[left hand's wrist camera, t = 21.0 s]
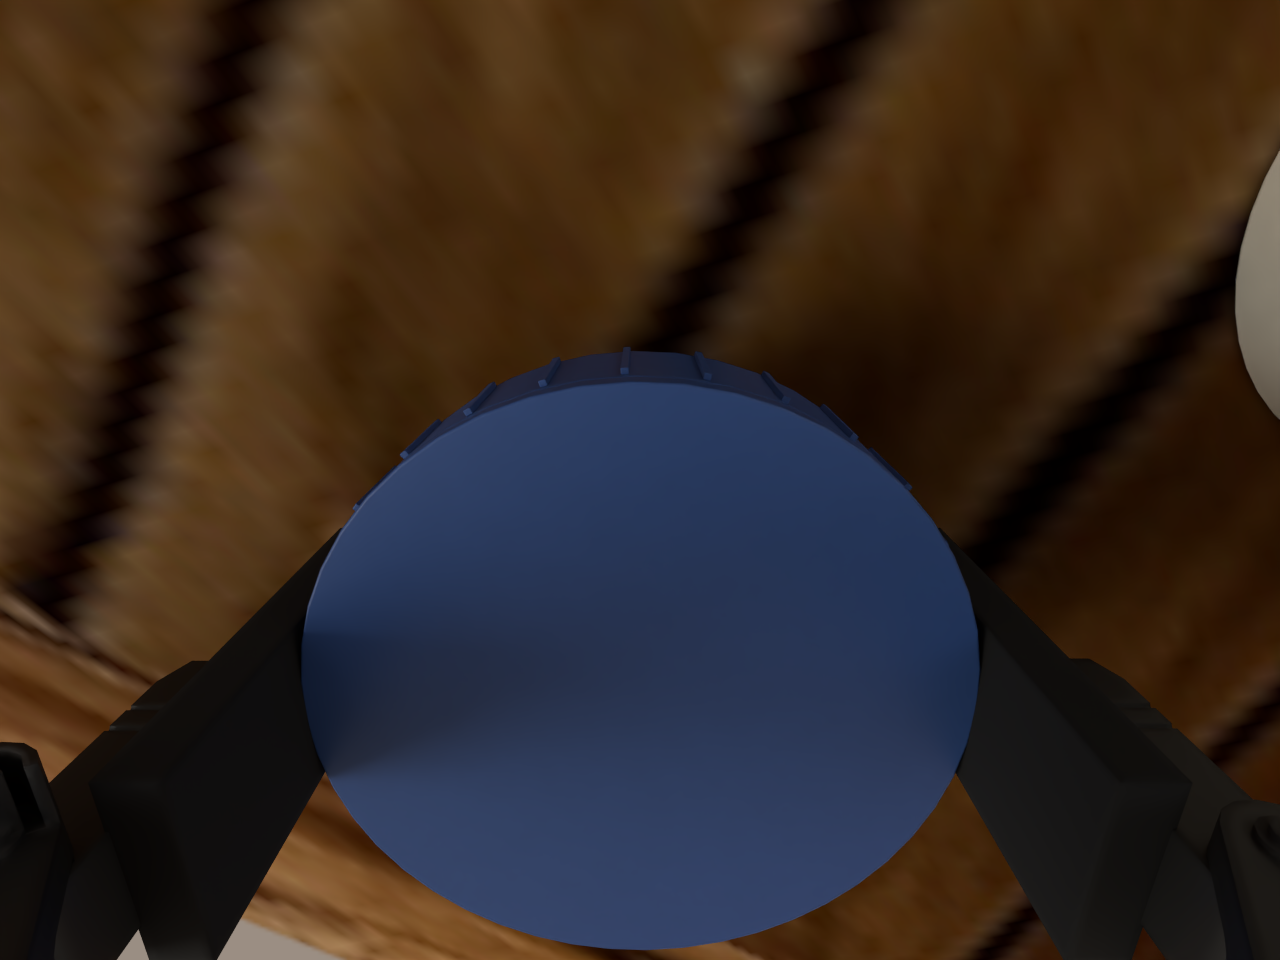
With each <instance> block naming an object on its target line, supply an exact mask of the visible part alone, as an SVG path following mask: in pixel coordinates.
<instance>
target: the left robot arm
mask: <svg viewBox="0 0 1280 960" xmlns="http://www.w3.org/2000/svg"><path fill="white" fill-rule="evenodd" d="M341 530H342V528H340V529H339V530H338V531H337V532H336V533H335V534H334V535H333V536H332V537H331V538H330V539H329V540H328V541H327V542H326V543H325V544H324V545H323V546H322V547H321V548H320V549H319V550H318V551H317V552H316V553H315V554H314V555H313V556H312V557H311V558H310V559H309V560H308V561H307V562H306V563H305V564H304V565H303V566H302V567H301V568H300V569H299V570H298V571H297V572H296V573H295V574H294V575H293V576H292V577H291V578H290V579H289V580H288V581H287V582H286V583H285V584H284V585H283V586H282V587H281V589H280V590H279V591H278V592H277V593H276V594H275V595H274V596H273V597H272V598H271V599H270V600H269V601H268V602H267V603H266V604H265V605H264V606H263V607H262V608H261V609H260V610H259V611H258V612H257V613H256V614H255V615H254V616H253V617H252V618H251V619H250V620H249V621H248V622H247V623H246V624H245V625H244V626H243V627H242V628H241V629H240V630H239V631H238V632H237V633H236V634H235V635H234V636H233V637H232V638H231V639H230V640H229V641H228V642H227V643H226V644H225V645H224V646H223V647H222V648H221V649H220V650H219V651H218V652H217V653H216V654H215V655H214V656H213V657H212V658H211V659H210V660H209V661H191V662H189V663H188V664H186V665H184V666H182V667H181V668H179V669H177V670H176V671H174V672H172V673H171V674H169V675H167V676H165V677H164V678H162V679H160V680H159V681H157V682H156V683H155V684H154V685H153V686H152V687H151V688H149V689H148V690H147V691H146V692H145V693H144V694H143V695H142V696H141V697H140V698H139V699H138V700H137V701H136V702H135V703H134V704H133V705H131V710H126V711H125V712H124V713H123V714H122V715H121V716H120V717H119V718H118V719H117V720H116V721H114V722H113V723H112V724H111V725H110V729H109V731H104V732H103V733H102V734H101V735H100V736H99V737H98V738H96V739H95V740H94V741H93V742H92V743H91V744H90V745H89V746H88V747H87V748H86V749H85V750H84V751H83V752H82V753H81V754H79V755H78V756H77V757H76V758H75V759H74V760H73V761H72V762H71V763H70V764H69V765H68V766H67V767H66V768H65V769H64V770H63V771H61V772H60V773H59V774H58V775H57V776H56V777H55V778H54V779H53V780H52V781H51V782H50V783H49V782H48V779H47V777H46V774H45V771H44V768H43V766H42V763H41V760H40V758H39V755H38V752H37V750H35V749H34V748H32V747H30V746H28V745H27V744H25V743H12V742H0V960H117V959H118V957H119V956H120V954H121V953H122V952H123V950H124V949H125V947H126V946H127V945H128V943H129V942H130V940H131V939H132V937H133V936H134V935H135V933H136V932H137V930H138V929H139V931H140V935H141V937H142V940H143V943H144V946H145V949H146V952H147V955H148V958H149V960H217V959H218V957H219V955H220V953H221V952H222V950H223V948H224V946H225V945H226V943H227V941H228V940H229V938H230V936H231V934H232V933H233V931H234V929H235V927H236V925H237V924H238V922H239V920H240V919H241V917H242V915H243V913H244V912H245V910H246V908H247V907H248V905H249V903H250V901H251V900H252V898H253V896H254V894H255V893H256V891H257V889H258V887H259V886H260V884H261V882H262V881H263V879H264V877H265V875H266V874H267V872H268V870H269V868H270V867H271V865H272V863H273V861H274V860H275V858H276V856H277V855H278V853H279V851H280V849H281V848H282V846H283V844H284V842H285V841H286V839H287V837H288V835H289V834H290V832H291V830H292V829H293V827H294V825H295V823H296V822H297V820H298V818H299V816H300V815H301V813H302V811H303V809H304V808H305V806H306V804H307V802H308V801H309V799H310V797H311V796H312V794H313V792H314V790H315V789H316V787H317V785H318V783H319V782H320V780H321V778H322V776H323V775H324V773H325V769H324V767H323V765H322V763H321V761H320V759H319V757H318V755H317V752H316V748H315V745H314V742H313V739H312V735H311V731H310V726H309V722H308V717H307V712H306V706H305V701H304V696H303V690H302V685H301V643H302V637H303V631H304V626H305V620H306V614H307V608H308V604H309V601H310V598H311V595H312V592H313V589H314V586H315V583H316V581H317V578H318V575H319V572H320V569H321V567H322V565H323V563H324V561H325V559H326V557H327V555H328V553H329V552H330V550H331V548H332V546H333V544H334V542H335V540H336V538H337V537H338V535H339V533H340V531H341ZM938 530H939V531H940V533H941V535H942V536H943V537H944V538H945V539H946V540H947V542H948V544H949V548H950V550H951V551H952V553H953V554H954V557H955V559H956V562H957V564H958V567H959V569H960V571H961V574H962V576H963V579H964V581H965V584H966V586H967V589H968V591H969V594H970V599H971V603H972V608H973V612H974V616H975V621H976V625H977V629H978V642H979V657H980V679H979V689H978V694H977V700H976V706H975V711H974V715H973V720H972V725H971V729H970V734H969V739H968V743H967V746H966V748H965V750H964V753H963V755H962V758H961V760H960V762H959V765H958V767H957V770H956V774H957V776H958V777H959V779H960V781H961V783H962V784H963V786H964V788H965V790H966V791H967V793H968V795H969V797H970V798H971V800H972V802H973V803H974V805H975V807H976V809H977V810H978V812H979V814H980V816H981V817H982V819H983V821H984V823H985V824H986V826H987V828H988V829H989V831H990V833H991V835H992V836H993V838H994V840H995V842H996V843H997V845H998V847H999V849H1000V850H1001V852H1002V854H1003V856H1004V857H1005V859H1006V861H1007V862H1008V864H1009V866H1010V868H1011V869H1012V871H1013V873H1014V875H1015V876H1016V878H1017V880H1018V882H1019V883H1020V885H1021V887H1022V888H1023V890H1024V892H1025V894H1026V895H1027V897H1028V899H1029V901H1030V902H1031V904H1032V906H1033V908H1034V909H1035V911H1036V913H1037V914H1038V916H1039V918H1040V920H1041V921H1042V923H1043V925H1044V927H1045V928H1046V930H1047V932H1048V934H1049V935H1050V937H1051V939H1052V940H1053V942H1054V944H1055V946H1056V947H1057V949H1058V951H1059V953H1060V954H1061V956H1062V958H1063V960H1131V959H1132V956H1133V954H1134V951H1135V948H1136V945H1137V942H1138V939H1139V936H1140V933H1141V931H1142V928H1143V927H1144V929H1145V930H1146V932H1147V933H1148V934H1149V936H1150V937H1151V939H1152V940H1153V941H1154V943H1155V944H1156V946H1157V947H1158V948H1159V950H1160V951H1161V953H1162V954H1163V955H1164V957H1165V958H1166V960H1280V805H1279V804H1274V803H1269V802H1264V801H1259V800H1253V799H1252V798H1251V797H1250V796H1248V795H1247V794H1246V793H1245V792H1244V791H1243V790H1242V789H1241V788H1240V787H1239V786H1238V785H1237V784H1236V783H1235V782H1233V781H1232V780H1231V779H1230V778H1229V777H1228V776H1227V775H1226V774H1225V773H1224V772H1223V771H1222V770H1221V769H1220V768H1219V767H1217V766H1216V765H1215V764H1214V763H1213V762H1212V761H1211V760H1210V759H1209V758H1208V757H1207V756H1206V755H1205V754H1204V753H1203V752H1201V751H1200V750H1199V749H1198V748H1197V747H1196V746H1195V745H1194V744H1193V743H1192V742H1191V741H1190V740H1189V739H1188V738H1187V737H1185V736H1184V735H1183V734H1182V733H1181V732H1180V731H1179V730H1178V729H1173V728H1172V726H1171V724H1172V723H1171V722H1169V721H1168V720H1167V719H1166V718H1165V717H1164V716H1163V715H1162V714H1161V713H1160V712H1159V711H1158V710H1157V709H1156V708H1151V707H1150V703H1149V702H1148V701H1147V700H1146V699H1145V698H1144V697H1143V696H1142V695H1141V694H1140V693H1138V692H1137V691H1136V690H1135V689H1134V688H1133V687H1132V686H1131V685H1130V684H1129V683H1128V682H1127V681H1126V680H1125V679H1123V678H1121V677H1120V676H1118V675H1116V674H1114V673H1113V672H1111V671H1109V670H1108V669H1106V668H1104V667H1102V666H1101V665H1099V664H1097V663H1096V662H1094V661H1092V660H1090V659H1069V658H1068V657H1067V656H1066V655H1065V654H1064V653H1063V652H1062V651H1061V650H1060V649H1059V648H1058V647H1057V646H1056V645H1055V644H1054V642H1053V641H1052V640H1051V639H1050V638H1049V637H1048V636H1047V635H1046V634H1045V633H1044V632H1043V631H1042V630H1041V629H1040V628H1039V627H1038V626H1037V625H1036V624H1035V623H1034V622H1033V621H1032V620H1031V619H1030V618H1029V617H1028V616H1027V615H1026V614H1025V613H1024V612H1023V611H1022V610H1021V609H1020V608H1019V607H1018V606H1017V605H1016V604H1015V603H1014V602H1013V601H1012V600H1011V599H1010V598H1009V597H1008V596H1007V595H1006V594H1005V593H1004V592H1003V591H1002V590H1001V589H1000V588H999V587H998V586H997V585H996V584H995V583H994V582H993V581H992V580H991V579H990V578H989V577H988V576H987V575H986V574H985V573H984V572H983V571H982V570H981V569H980V568H979V567H978V566H977V565H976V564H975V563H974V562H973V561H972V560H971V559H970V558H969V557H968V556H967V555H966V554H965V553H964V552H963V551H962V550H961V549H960V548H959V547H958V546H957V545H956V544H955V543H954V542H953V541H952V540H951V539H950V538H949V537H948V536H947V535H946V534H945V533H944V532H943V531H942V530H941V529H940V528H938Z"/></svg>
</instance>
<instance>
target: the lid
mask: <svg viewBox="0 0 1280 960" xmlns="http://www.w3.org/2000/svg"><path fill="white" fill-rule="evenodd" d="M858 438H859V437H858V436H857V435H856V434H855V433H854V432H853V431H852V430H851V429H850V428H849V427H848V426H847V425H846V424H845V423H844V422H843V421H842V420H841V419H840V418H839V417H838V416H837V415H836V414H835V413H834V412H833V411H831V410H830V409H829V408H828V407H827V406H826V405H824V404H822V405H821V407H818V406H816V405H815V404H813V403H812V402H810V401H809V400H807V399H806V398H804V397H803V396H801V395H800V394H798V393H797V392H795V391H794V390H792V389H790V388H787V387H785V386H783V385H781V384H779V383H777V382H776V381H775V379H774V378H773V377H772V376H771V375H770V374H769V373H768V372H765V371H763V372H762V374H761V375H760V374H758V373H755V372H752V371H749V370H746V369H743V368H740V367H737V366H733V365H730V364H727V363H724V362H721V361H718V360H713V359H707V358H704V356H703V354H702V353H701V352H695V355H694V356H690V355H684V354H679V353H666V352H642V351H631V350H630V347H624V348H623V352H617V353H606V354H594V355H588V356H583V357H579V358H574V359H570V360H565V361H560V357H557V358H553V359H552V361H551V362H550V364H548V365H546V366H543V367H540V368H538V369H535V370H532V371H530V372H527V373H524V374H521V375H519V376H516V377H513V378H511V379H509V380H507V381H505V382H503V383H501V384H499V385H498V386H496V384H495V382H492V383H490V384H488V385H487V386H486V388H485V389H484V390H483V391H482V392H481V393H480V394H479V395H478V396H477V397H475V398H474V399H472V400H471V401H470V402H468V403H467V404H466V405H464V406H463V407H462V408H460V409H459V410H457V411H456V412H455V413H453V414H452V415H451V416H449V417H448V418H446V419H445V420H444V421H443V422H441V421H440V420H439V419H437V420H436V421H435V422H434V423H433V424H432V425H431V426H429V427H428V428H427V429H426V430H425V431H424V432H423V433H422V434H421V435H420V436H419V437H418V438H417V439H416V440H415V441H414V442H413V443H412V444H411V445H409V446H408V447H407V448H406V449H405V450H404V451H403V452H402V453H401V454H400V455H401V457H402V458H403V459H404V460H403V461H402V462H401V463H400V464H399V465H398V466H394V467H393V468H392V469H391V470H390V471H389V472H388V473H387V474H386V475H385V476H384V477H383V478H382V479H381V480H380V481H379V482H378V483H377V484H376V485H375V486H374V487H373V488H371V489H370V490H369V491H368V492H367V493H366V494H365V495H364V496H363V497H362V498H361V499H360V500H359V501H358V502H357V503H356V504H355V506H354V507H353V509H354V510H355V512H354V514H353V515H352V516H351V518H350V519H349V520H348V522H347V523H346V524H345V526H344V527H343V528H342V530H341V531H340V533H339V535H338V537H337V538H336V540H335V542H334V544H333V546H332V548H331V550H330V552H329V553H328V555H327V557H326V559H325V561H324V563H323V565H322V567H321V569H320V572H319V575H318V578H317V581H316V583H315V586H314V589H313V592H312V595H311V598H310V601H309V604H308V608H307V614H306V620H305V626H304V631H303V637H302V643H301V685H302V690H303V696H304V701H305V706H306V712H307V717H308V722H309V726H310V731H311V735H312V739H313V742H314V745H315V748H316V752H317V755H318V757H319V759H320V761H321V763H322V765H323V767H324V769H325V772H326V774H327V776H328V778H329V780H330V782H331V784H332V786H333V788H334V789H335V791H336V793H337V794H338V796H339V797H340V799H341V800H342V802H343V803H344V805H345V806H346V808H347V809H348V811H349V812H350V814H351V815H352V817H353V818H354V819H355V820H356V822H357V823H358V824H359V825H360V826H361V827H362V829H363V830H364V831H365V832H366V833H367V834H368V836H369V837H370V838H371V839H372V840H373V841H374V843H375V844H376V845H377V846H378V847H379V848H380V849H381V850H383V851H384V852H385V853H386V854H387V855H388V856H389V857H390V858H391V859H392V860H394V861H395V862H396V863H397V864H398V865H399V866H400V867H401V868H402V869H403V870H405V871H406V872H408V873H409V874H410V875H412V876H413V877H414V878H416V879H417V880H419V881H420V882H421V883H423V884H424V885H426V886H427V887H428V888H430V889H431V890H432V891H434V892H436V893H438V894H439V895H441V896H443V897H445V898H446V899H448V900H450V901H452V902H453V903H455V904H457V905H459V906H460V907H462V908H464V909H466V910H468V911H470V912H473V913H475V914H477V915H479V916H482V917H484V918H486V919H488V920H491V921H493V922H495V923H498V924H500V925H503V926H506V927H509V928H512V929H515V930H518V931H522V932H525V933H528V934H531V935H534V936H538V937H542V938H547V939H551V940H556V941H560V942H565V943H569V944H575V945H583V946H592V947H600V948H608V949H635V950H652V949H669V948H685V947H691V946H697V945H704V944H710V943H717V942H722V941H726V940H730V939H734V938H738V937H742V936H746V935H750V934H754V933H758V932H760V931H763V930H766V929H769V928H772V927H774V926H777V925H780V924H783V923H785V922H788V921H791V920H793V919H796V918H798V917H800V916H802V915H804V914H806V913H808V912H810V911H812V910H814V909H816V908H819V907H821V906H823V905H825V904H827V903H828V902H830V901H832V900H833V899H835V898H836V897H838V896H840V895H841V894H843V893H845V892H846V891H848V890H849V889H851V888H853V887H854V886H856V885H858V884H859V883H860V882H861V881H863V880H864V879H865V878H867V877H868V876H869V875H870V874H872V873H873V872H874V871H876V870H877V869H878V868H879V867H881V866H882V865H883V864H884V863H886V862H887V861H888V860H889V859H890V858H891V857H892V856H893V855H894V854H895V853H896V852H897V851H898V850H899V849H900V848H901V847H902V846H903V845H904V844H905V843H906V842H907V841H908V840H909V839H910V838H911V837H912V836H913V835H914V834H915V832H916V831H917V830H918V829H919V827H920V826H921V825H922V824H923V822H924V821H925V820H926V819H927V817H928V816H929V815H930V813H931V812H932V811H933V810H934V808H935V807H936V805H937V804H938V802H939V800H940V799H941V797H942V795H943V793H944V792H945V790H946V788H947V787H948V785H949V783H950V782H951V780H952V778H953V777H954V774H955V772H956V770H957V767H958V765H959V762H960V760H961V758H962V755H963V753H964V750H965V748H966V746H967V743H968V739H969V734H970V729H971V725H972V720H973V715H974V711H975V706H976V700H977V694H978V689H979V679H980V657H979V642H978V629H977V625H976V621H975V616H974V612H973V608H972V603H971V599H970V594H969V591H968V589H967V586H966V584H965V581H964V579H963V576H962V574H961V571H960V569H959V567H958V564H957V562H956V559H955V557H954V554H953V553H952V551H951V550H950V548H949V544H948V542H947V540H946V539H945V538H944V537H943V536H942V535H941V533H940V531H939V530H938V528H937V526H936V525H935V523H934V521H933V520H932V518H931V517H930V516H929V515H928V514H927V512H926V511H925V510H924V509H923V508H922V506H921V505H920V504H919V503H918V502H917V500H916V499H915V498H914V497H913V496H912V495H911V493H910V492H909V490H910V489H912V486H911V485H910V484H909V483H908V482H907V481H906V480H905V479H904V478H903V477H902V476H901V475H900V474H899V473H898V472H897V471H896V470H895V469H894V468H892V467H891V466H890V465H889V464H888V463H887V462H886V461H885V460H884V459H883V458H882V457H881V456H880V455H879V454H878V453H877V452H876V451H875V450H874V449H873V448H872V447H870V448H869V449H868V450H867V449H866V448H865V447H864V446H863V445H862V444H861V443H860V442H859V441H858V440H857V439H858Z"/></svg>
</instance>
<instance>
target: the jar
mask: <svg viewBox="0 0 1280 960" xmlns="http://www.w3.org/2000/svg"><path fill="white" fill-rule="evenodd" d="M1235 319H1236V327H1237V335H1238V342H1239V346H1240V349H1241V353H1242V356H1243V360H1244V363H1245V367H1246V369H1247V371H1248V373H1249V375H1250V377H1251V380H1252V382H1253V384H1254V386H1255V388H1256V390H1257V392H1258V393H1259V394H1260V396H1261V397H1262V399H1263V400H1264V401H1265V403H1266V404H1267V406H1268V407H1269V408H1270V410H1271V411H1272V412H1273V414H1275V415H1276V416H1277V417H1278V418H1279V419H1280V150H1279V152H1278V153H1277V155H1276V157H1275V159H1274V161H1273V163H1272V165H1271V167H1270V168H1269V170H1268V172H1267V174H1266V176H1265V178H1264V181H1263V183H1262V186H1261V188H1260V190H1259V193H1258V195H1257V198H1256V200H1255V203H1254V205H1253V208H1252V210H1251V213H1250V216H1249V220H1248V223H1247V227H1246V230H1245V234H1244V237H1243V241H1242V244H1241V248H1240V255H1239V261H1238V267H1237V274H1236V280H1235Z"/></svg>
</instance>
